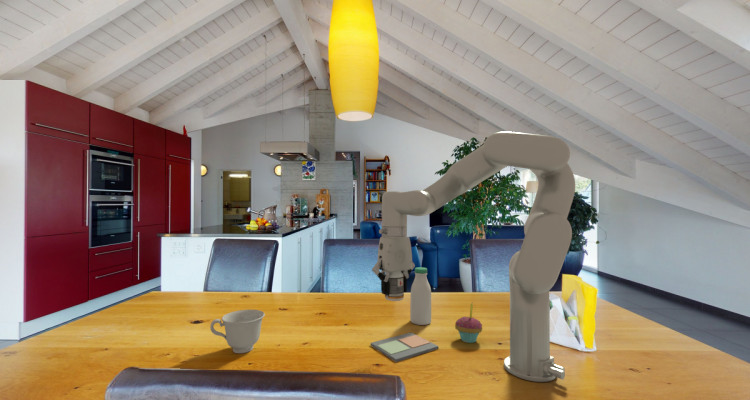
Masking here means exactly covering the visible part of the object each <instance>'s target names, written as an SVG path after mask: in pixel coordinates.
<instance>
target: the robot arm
mask: <svg viewBox="0 0 750 400" xmlns="http://www.w3.org/2000/svg"><path fill="white" fill-rule="evenodd" d="M570 156H571V152H570V147H569V146H568V144H567V143H566V142H565V141H564V140H563V139H561V138H559V137H556V136H552V135H543V134H535V133H534V134H532V133H524V132H515V131H513V132H512V131H498V132H494V133H491V134H490V135H489V136H488V137H487V138H486V139H485V141H484V143H483V145H480V146H479V147H478V148H476V149H475V150H473V151H472V152H470V153H469V154H467V155H466V156H463V157H462V158H460V159H459V160H458V161H455V162H454V163H453V164H452V165H451V166H449V168H448V169H447V171H446V172H445V173H444V174H443V175H442V176H441V177H440V178H439V179H437V180H436V181H435V182H434V183H432V184H431V185H429V186H426V188H424V189H423V190H421V189H420V190H419V189H415V190H410V191H396V190H395V191H385V192H384V193H383V194H382V196H381V197H382V198H381V201H382V202H381V228H380V229H379V231H378V233H379V234H380V235H381V236H380V238H379V244H378V249H377V251H378V252H377V261H376V262H375V264H374V266H373V267H372V269H371V271H372V272H373V273H374V274H375V275H376V277H377V278H378V279H379V281H380V291H381V294H382V295H384V296H385V295H389V291H390V283H389V281H388V278H389V275H390V272H397V271H401V273H402V274H403V276H404V293H407V291H408V290H407V289H408V279H409V278H410V274H411V273H412V271H413V269H415V268H416V267H415V266H416V265H415V263H414V262H413V254H412V244H411V239H410V236H408V216H412V217H422V216H427V215H430V214H432V213H433V212H435V211H436V210H438V209H440V208H441V207H444V206H445V205H446V204H448V203H450V202H451V201H453V200H454V199H456V198H457V197H459V196H460V195H463V194H465V193H467V192H468V191H470V190H471V189H473V188H475V187H476V186H477V185H479V184H480V183H482V182H483V181H485V180H487V179H489V178H490V177H492V176H494V175H495V174H497V173H498V172H501V171H502V170H504V169H505V168H507V167H513V168H520V169H528V170H530V171H531V172H532V173H533V174H534V175H535V176H536V179H537V183H538V186H537V191H536V193H535V197H534V200H533V203H532V206H531V208H530V211H529V214H528V216H527V219H526V221H525V223H524V227H523V232H524V238H523V242H522V244H521V247H520V250H518V251H516V252H515V253H514V254H513V255H511V256H512V257H511V258H510V260H509V265H508V277H509V278H508V281H509V283H508V284H509V356H507V357H505V358H504V359H503V366H504V369H505V370H506V371H507V372H508V373H510V374H511V375H513V376H515V377H516V378H519V379H523V380H526V381H530V382H535V383H537V382H538V383H545V382H546V383H547V382H551V381H553V380H555V379H556V378H557V379H560V380H565V377H566V373H565V371H566V370H565V367H564V366H561V365H559V364H558V365H557V364H556V363H555V357H554V356H551V349H550V348H551V345H550V344H551V342H550V340H551V339H550V337H551V333H550V332H551V330H550V327H551V325H550V324H551V323H550V321H551V320H550V313H551V312H550V311H551V307H550V305H551V304H550V290H551V289H552V288H553V287H554V285H555V284H556V282H557V280H558V278H559V275H560V272H561V270H562V267H563V264H564V262H565V260H566V256H567V254H568V251H569V249H570V245H571V241H572V239H573V229H572V226H571V223H570V221H569V220H568V216H569V213H570V211H571V206H572V203H573V200H574V197H575V193H576V178H575V176H574V173H573V170H572V168H571V167H570V165H569V163H568V162H569V160H570Z"/></svg>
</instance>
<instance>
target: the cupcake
mask: <svg viewBox="0 0 750 400" xmlns="http://www.w3.org/2000/svg"><path fill="white" fill-rule="evenodd" d="M473 305H474V304H473V303H470V308H469V310H470V311H469V316H462V317H460V318H458V319H457V320H456V321H455V325H454V326H455V327H454V328H455V330H456V331H458V334H459V337H460V340H461V341H463V343H469V344H472V343H473V344H474V343H476V342H477V338H478V336H479V334H480V333H482V331H483V324H482V323H481V321H479V319H476V318H475V317H473Z"/></svg>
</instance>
